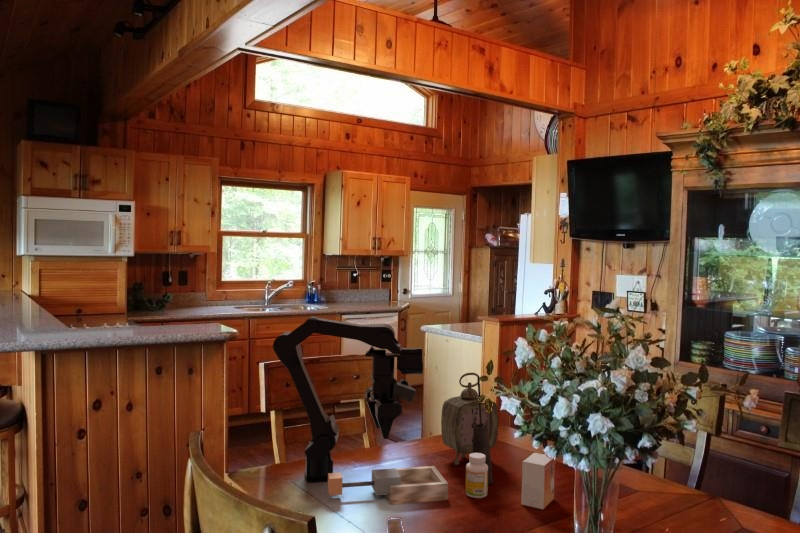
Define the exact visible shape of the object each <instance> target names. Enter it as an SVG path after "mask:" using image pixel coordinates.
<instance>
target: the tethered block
mask: <svg viewBox="0 0 800 533" xmlns="http://www.w3.org/2000/svg"><path fill="white" fill-rule="evenodd" d="M394 485H401V476H400V475H399V473H398V471H397V470H396V467H395V468H381V469H371V480H370V481H367V480H366V481H355V482H353V481H352V482H343V476H342V474H341V472H333V473H328V481H327V491H328V495H329V496H342V495H343V488H344V489H345V488H355V487H356V488H358V487H368V486H369V487H370V486H371V488H372V489H373V491H374V493H375V496H383V495H384V496H386V495H387V494H390V486H394Z"/></svg>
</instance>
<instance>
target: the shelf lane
mask: <svg viewBox="0 0 800 533" xmlns="http://www.w3.org/2000/svg"><path fill="white" fill-rule="evenodd" d="M395 468H396V467H395ZM396 470H397V471H398V473H399V475H400V476H401V485H394V486H390V494H387V495H385V496H386V498H387V500H388V502H389V503H390V505H401V504H412V503H413V504H415V503H427V502H439V501H448V500H449V482H448V481H447V480H446V479H445V477H443V475H442V474H441V473H440V471H439V470H438V469H437V467H436V466H435V465H431V466H415V467H401V468H400V467H398V468H396Z"/></svg>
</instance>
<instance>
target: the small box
mask: <svg viewBox="0 0 800 533" xmlns="http://www.w3.org/2000/svg"><path fill="white" fill-rule="evenodd" d="M546 455H547V454H544V453H543V454H542V453H537V452H533V453H531V455H529V456H528V457H527V458H525V459H524V460H523V461H521V463H522V464H521V466H522V467H521V499H520V500H521V503H520V504H521V505H522V506H527V507H531V508H535V509H539V510H545V508H546V507H547V506H549V504H550V503H551V502H553V501H554V500H555V473H556V472H555V470H556V467H555V466H556V459H555V460H553V459H550V458H549V457H547V456H546Z"/></svg>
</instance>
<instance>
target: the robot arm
mask: <svg viewBox="0 0 800 533" xmlns="http://www.w3.org/2000/svg"><path fill="white" fill-rule="evenodd" d="M313 334H317V335H324V336H330V337H331V336H332V337H335V338H336V337H337V338H343V339H350V340H355V341H359V342H362V343H363V344H366V345H368V346H370V348H369V349H368V350H367V351H366V352H365V353H364V356H365V357H368V358H370V357H371V359H372V362H371V363H372V364H371V370H372V371H371V372H372V373H371V375H370V381H371V386H369V387H368V386H367V388H366V389H365V390H364V398H365V402H366V404H367V406H368V409H369V412H370V414H371V417H372V419H373V423H374V426H375V428H376V429H379V430H380V432H381V435H382V439H383V440H388V439H389V436H390V433H391V429H392V426H393V423H394V421H395V420H396V418H398V417H400V416H401V415H402V414H403V406H402V405H401V403H400V402H399V401H398V398H400V399H403V400H406V401H407V402H409V403H413V400H414V398H415V396H416V392H417V390H416V389H415V388H414V387H412V386H411V385H409V382H408V381H407V380H406V379H403V378H401V379H399V380H398V379H397V378H395V361H396V363H397V364H396V370H397V371H399V372H400V373H401V375H424V374H423V373H424V361H423V360H424V359H423V348H422V347H402V344H401V343H400V342H399V340H397V338H396V332H395V329H394V328H393V327H392V325H390V324H388V323H371V324H370V323H367V324H359V323H352V322H346V321H340V320H334V319H333V320H332V319H328V318H322V317H321V318H320V317H318V316H310V317H309V318H307V319H306V320H305V322H303V323H302V324H301V325H299V326H297V327H296V328H295V329H293V330H292V331H284V332H283V333H281V334H280V335H278V336H277V337H276V338H275V339H274V341H273V344H272V349H273V352H274V353H275V355H276V357H277V358H278V360H279V361H280V363H281V364H282V365H283V366H284V367H285V368H286V369H287V371H288V372H289V375H290V377H291V380H292V381H293V384H294V387H295V388H296V391H297V393H298V396H299V398H300V400H301V403H302V405H303V407H304V410H305V412H306V414H307V418H308V420H309V426H310V434H311V439H310V440H309V442H308V444H307V446H306V449H305V450H304V454H305V471H304V477H305V482H306V483H315V482H328V473H334V460H333V457H332V454H331V452H330V451H332V450H333V449H334V448H335V446H336V443H337V441H338V439H339V434H340V433H339V430H340V426H339V425H338V423H337V421H336V417H335V415H334V414H331V415H330V416H329V414H327V413H326V412H325V410H324V408H323V406H322V404H321V401H320V398H319V396H318V394H317V392H316V389H315V386H314V383H313V382H312V379H311V377H310V375H309V373H308V371H307V368H306V366H305V362H304V355H303V349H302V345H301V343H302V342H304V341H305V340H306V339H308V338H309V337H311V336H312V335H313ZM387 351H388V352H387ZM395 359H397V360H395Z"/></svg>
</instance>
